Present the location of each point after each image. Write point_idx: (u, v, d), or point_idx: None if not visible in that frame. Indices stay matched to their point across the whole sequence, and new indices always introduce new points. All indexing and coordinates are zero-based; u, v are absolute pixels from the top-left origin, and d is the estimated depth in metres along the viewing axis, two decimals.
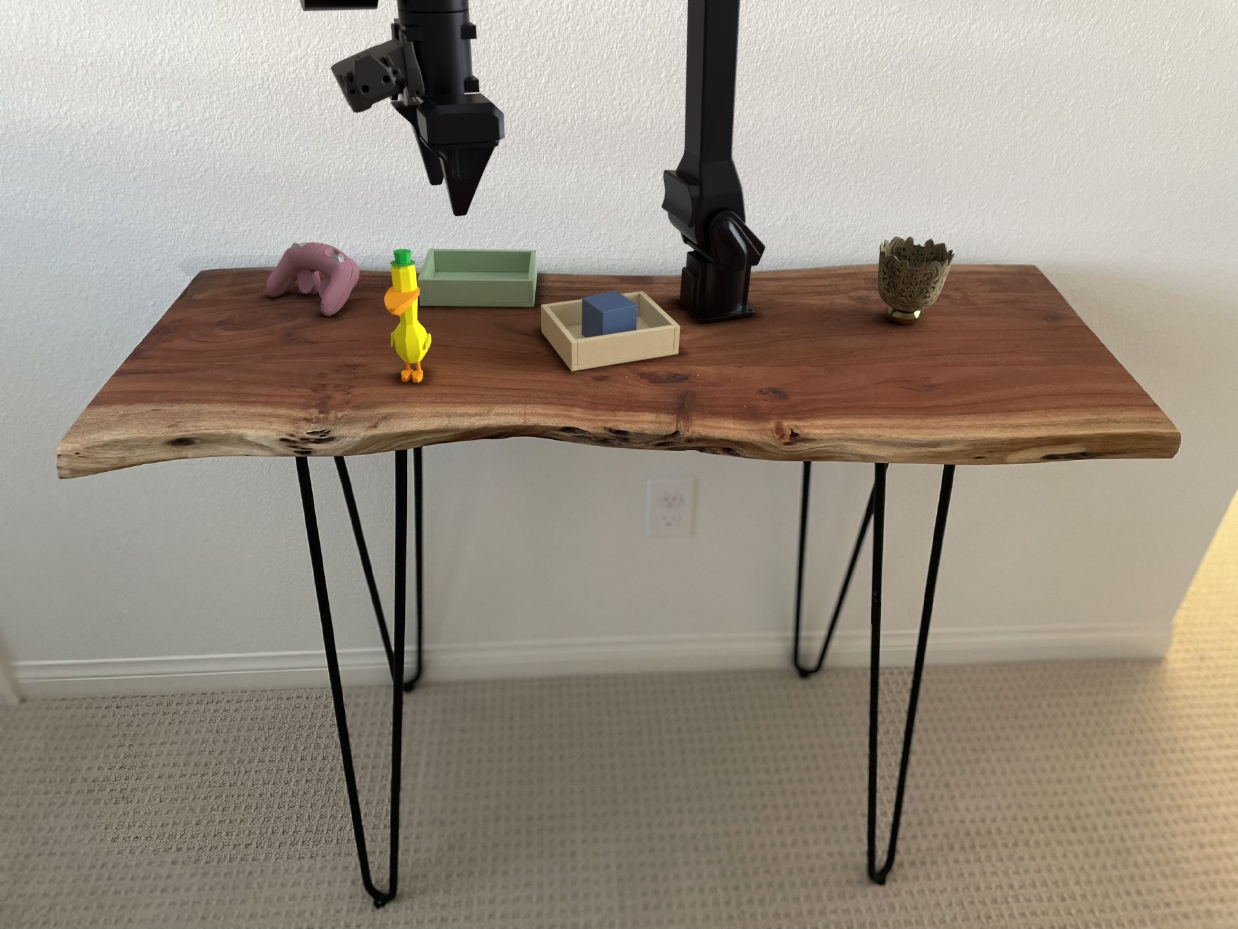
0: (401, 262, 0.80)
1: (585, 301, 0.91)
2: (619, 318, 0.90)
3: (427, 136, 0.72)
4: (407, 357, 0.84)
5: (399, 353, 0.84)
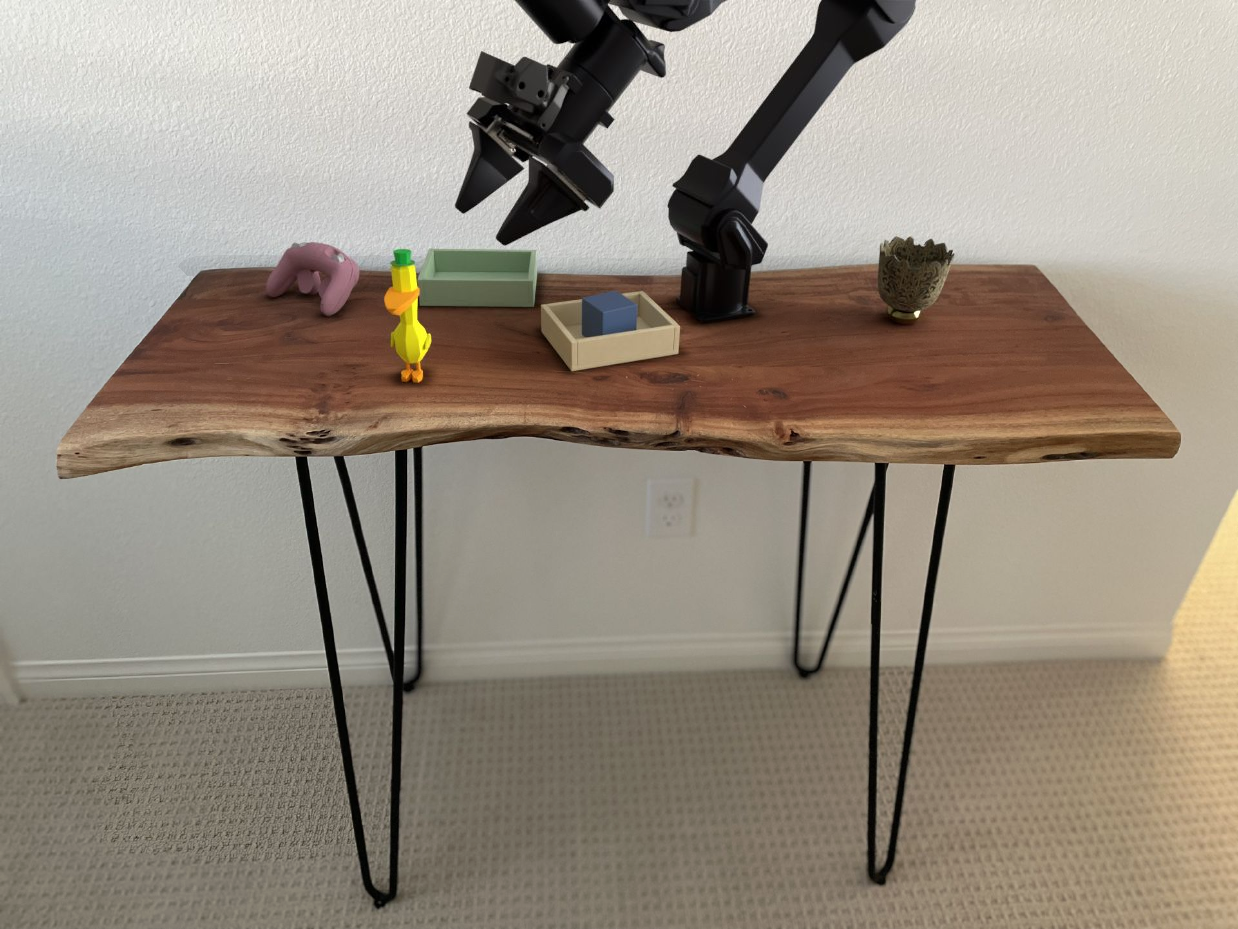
0: (401, 262, 0.80)
1: (585, 301, 0.91)
2: (619, 318, 0.90)
3: (555, 157, 0.73)
4: (407, 357, 0.84)
5: (399, 353, 0.84)
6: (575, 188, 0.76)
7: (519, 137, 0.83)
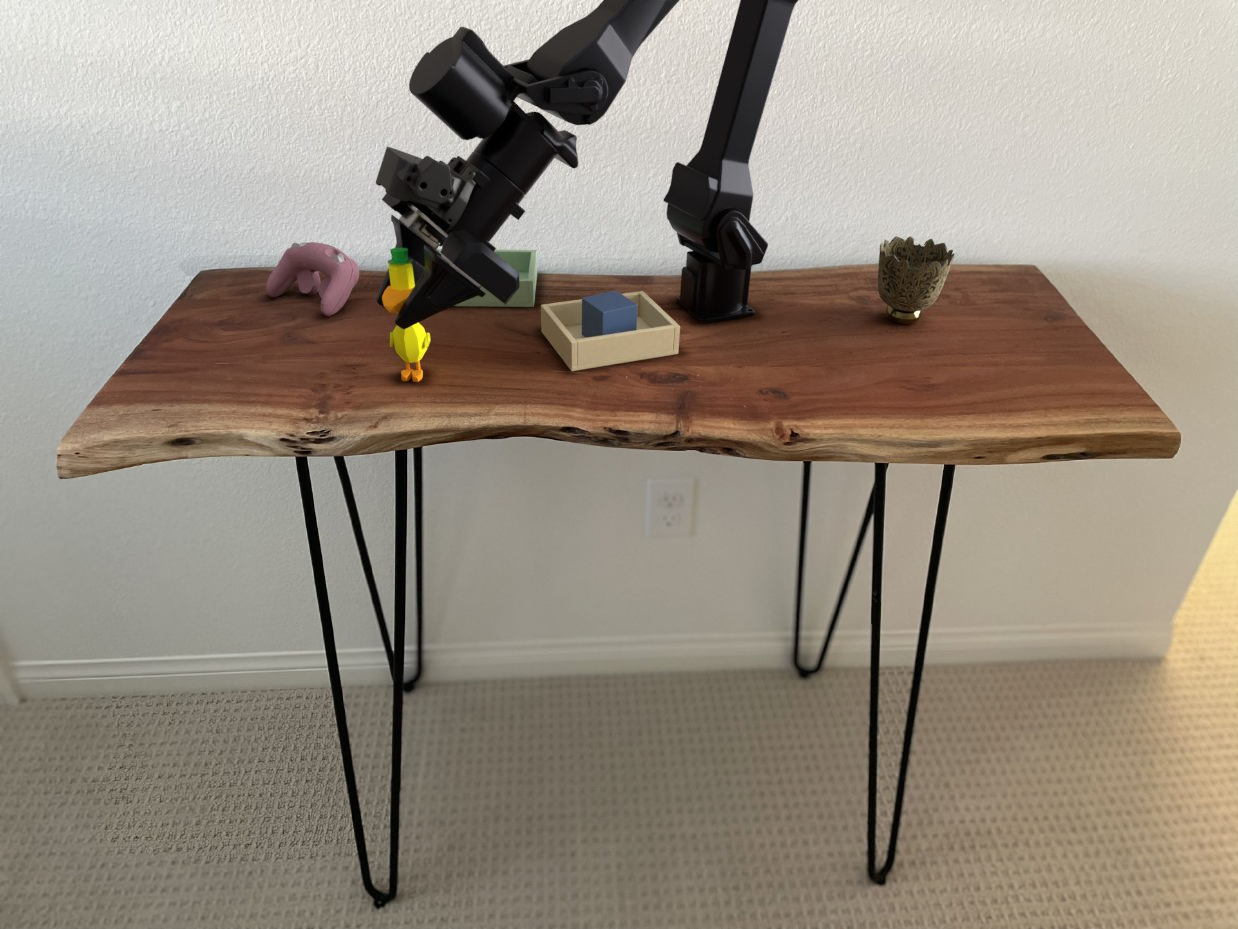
0: (398, 260, 0.80)
1: (585, 301, 0.91)
2: (619, 318, 0.90)
3: (456, 258, 0.73)
4: (406, 356, 0.84)
5: (398, 352, 0.84)
6: (470, 276, 0.78)
7: (432, 226, 0.83)
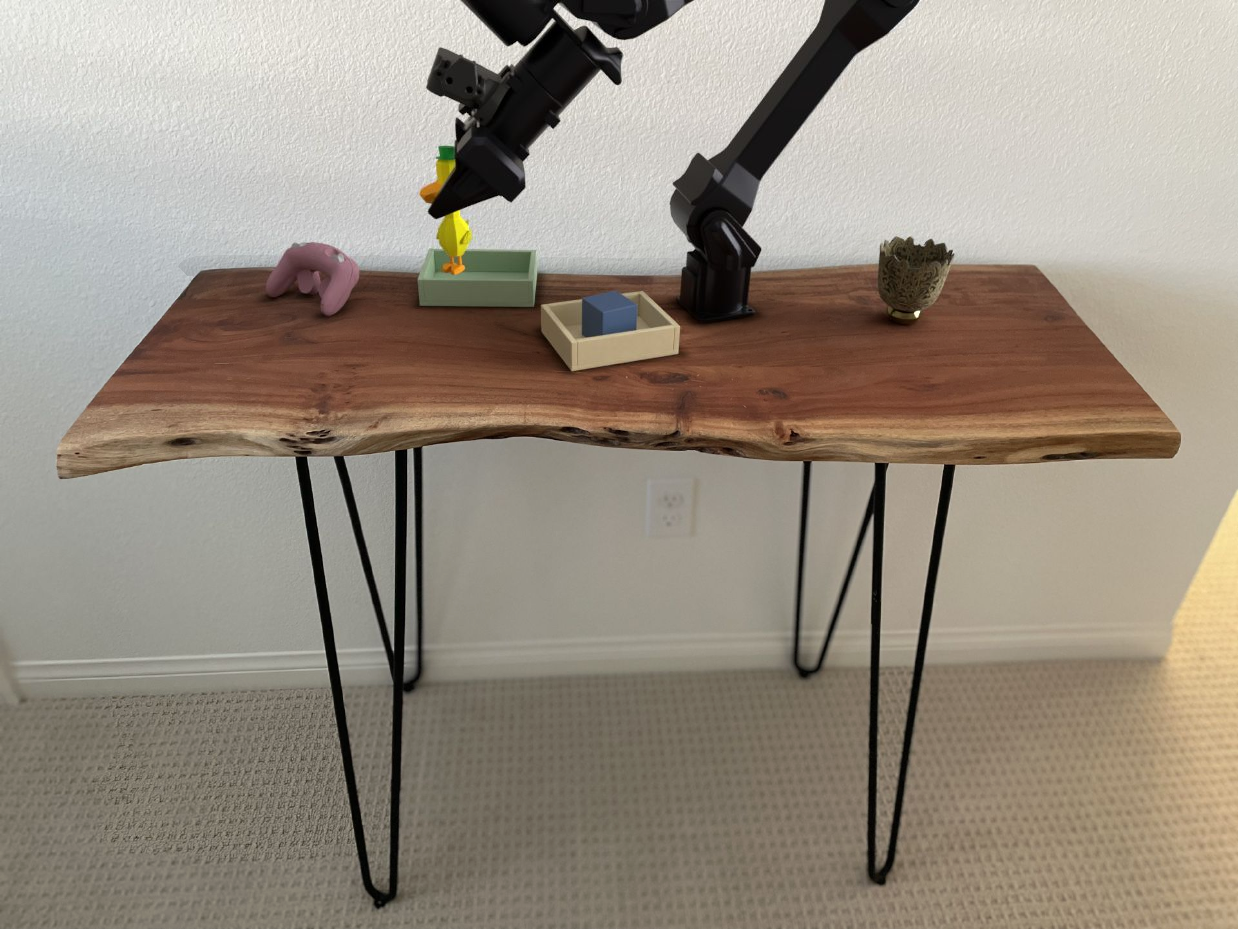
0: (443, 156, 0.87)
1: (585, 301, 0.91)
2: (619, 318, 0.90)
3: (460, 149, 0.78)
4: (446, 249, 0.92)
5: (441, 244, 0.92)
6: None
7: None
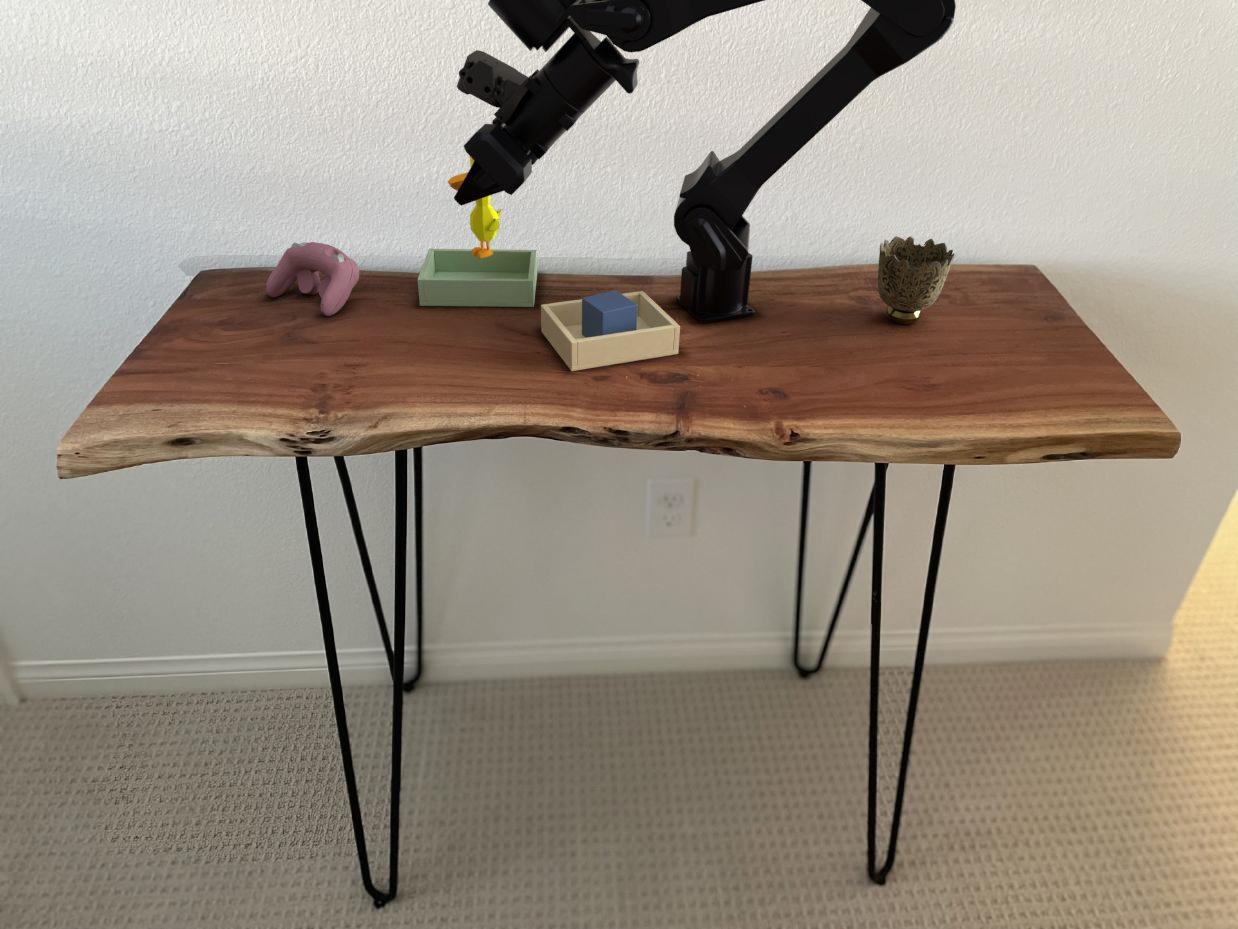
0: None
1: (585, 301, 0.91)
2: (619, 318, 0.90)
3: (467, 142, 0.86)
4: (475, 234, 1.00)
5: (471, 229, 1.00)
6: None
7: None
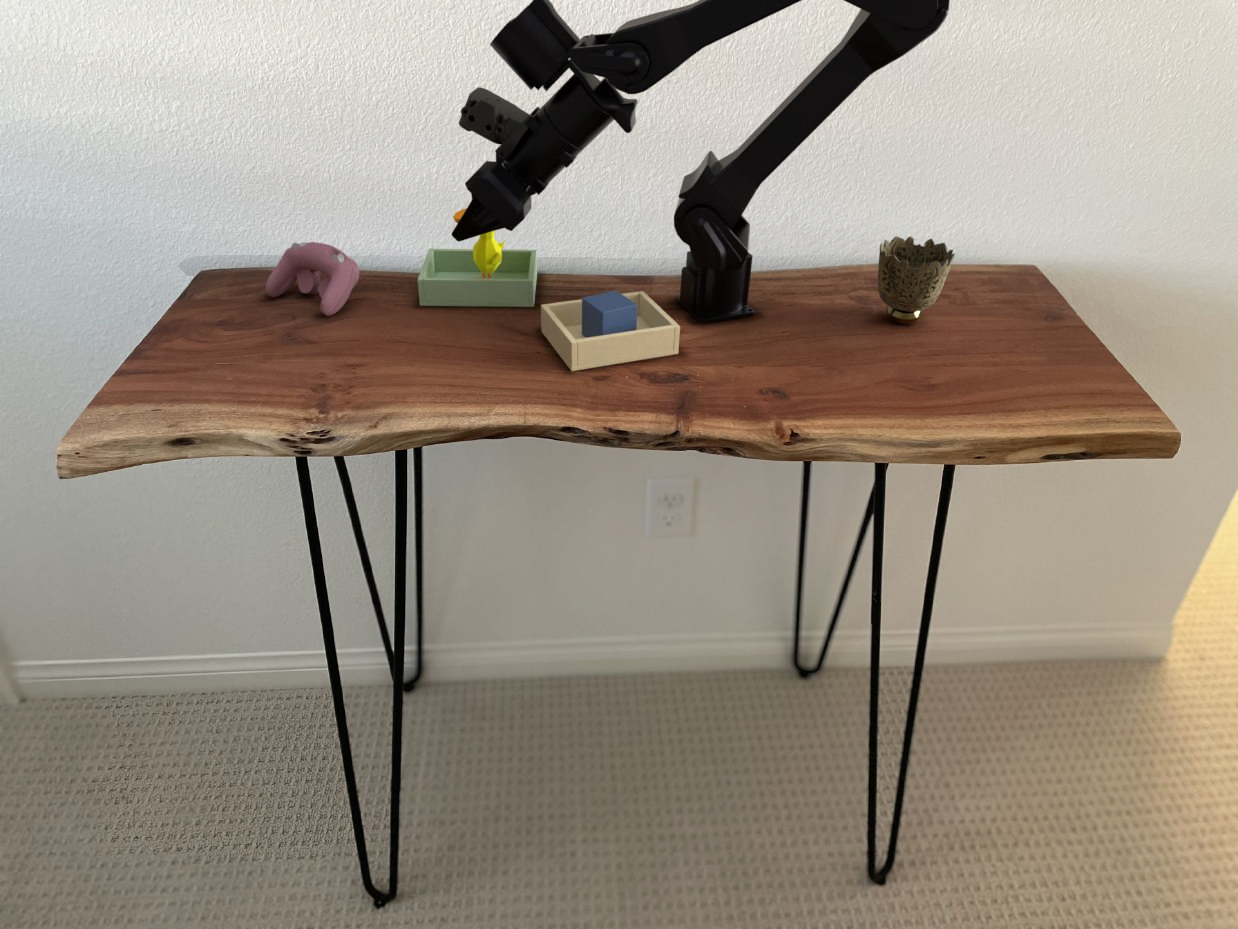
0: None
1: (585, 301, 0.91)
2: (619, 318, 0.90)
3: (468, 180, 0.88)
4: None
5: (474, 260, 1.02)
6: None
7: None
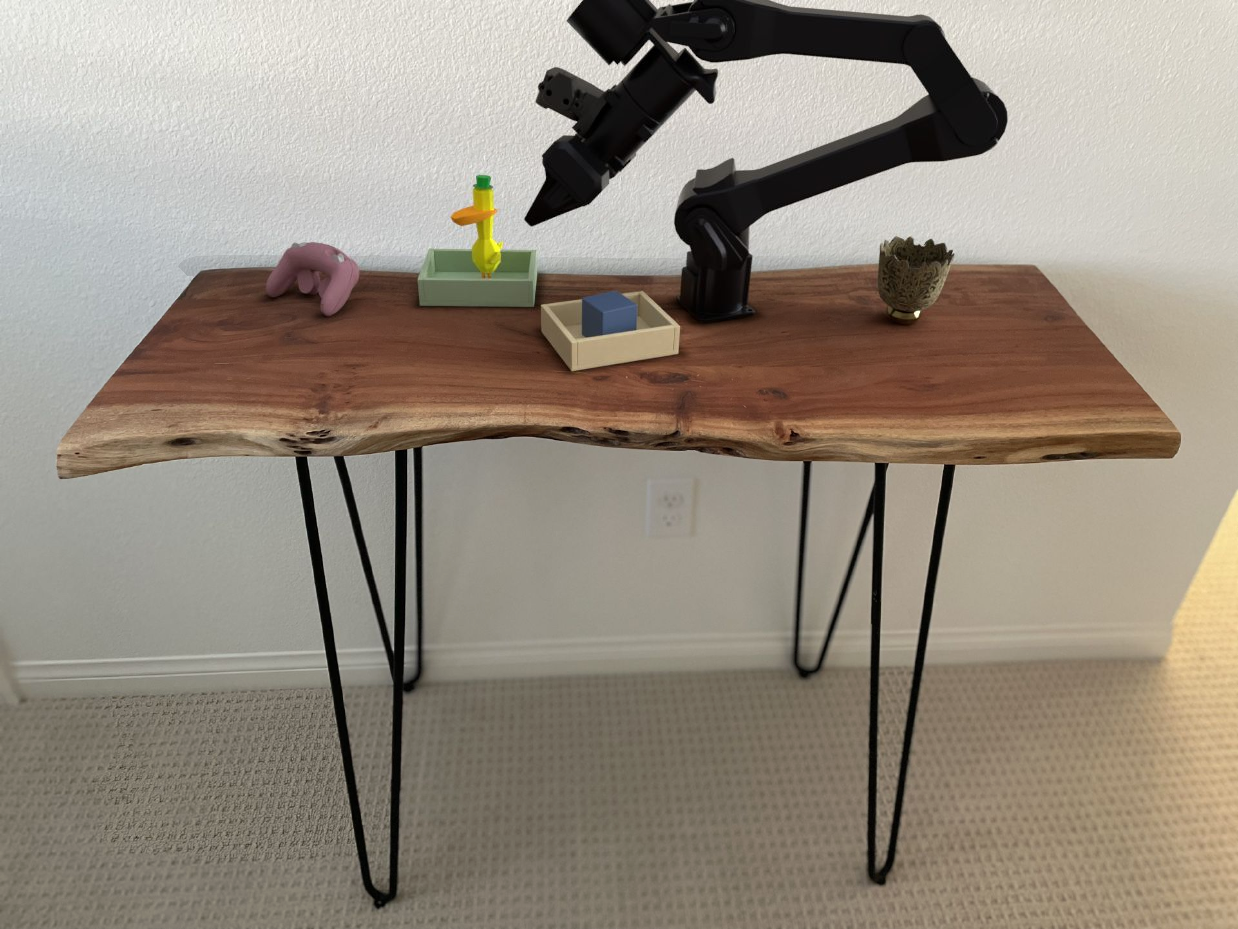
0: (478, 185, 0.97)
1: (585, 301, 0.91)
2: (619, 318, 0.90)
3: (545, 152, 0.86)
4: (477, 266, 1.02)
5: (473, 261, 1.02)
6: None
7: None
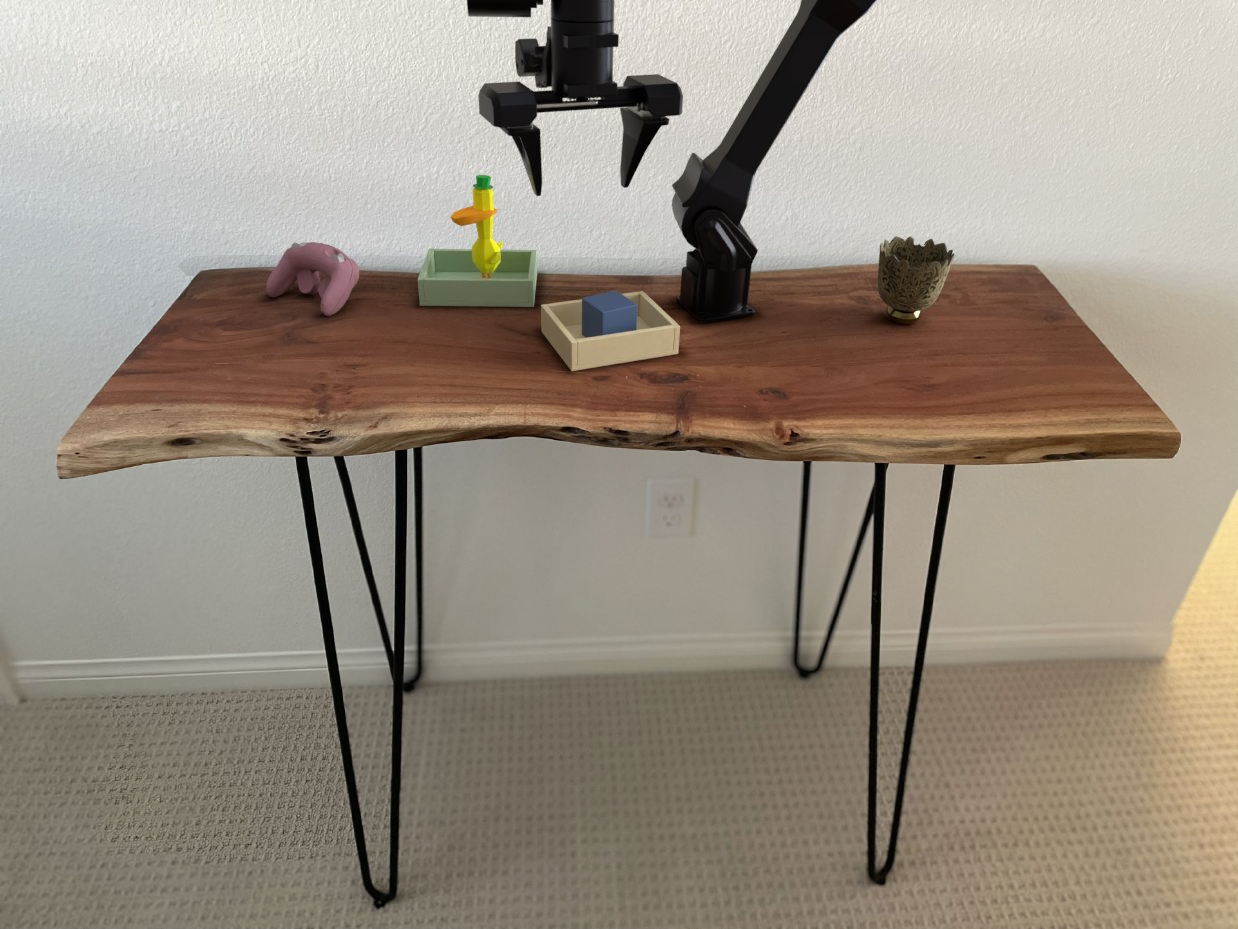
0: (478, 185, 0.97)
1: (585, 301, 0.91)
2: (619, 318, 0.90)
3: None
4: (477, 266, 1.02)
5: (473, 261, 1.02)
6: None
7: None
